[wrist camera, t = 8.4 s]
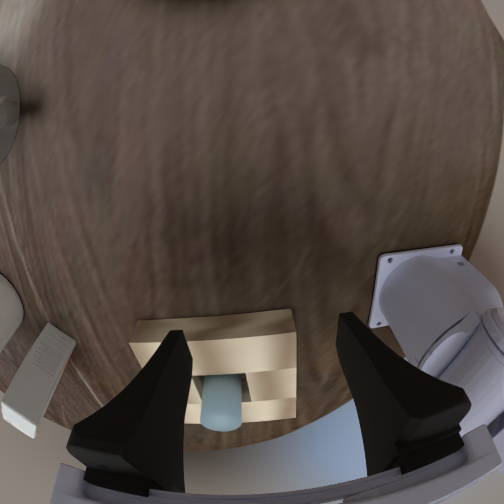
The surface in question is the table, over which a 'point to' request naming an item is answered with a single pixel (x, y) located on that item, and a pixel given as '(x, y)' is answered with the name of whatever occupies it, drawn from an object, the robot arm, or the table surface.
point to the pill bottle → (9, 311)
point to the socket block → (234, 358)
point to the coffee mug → (8, 110)
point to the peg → (221, 402)
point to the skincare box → (37, 380)
